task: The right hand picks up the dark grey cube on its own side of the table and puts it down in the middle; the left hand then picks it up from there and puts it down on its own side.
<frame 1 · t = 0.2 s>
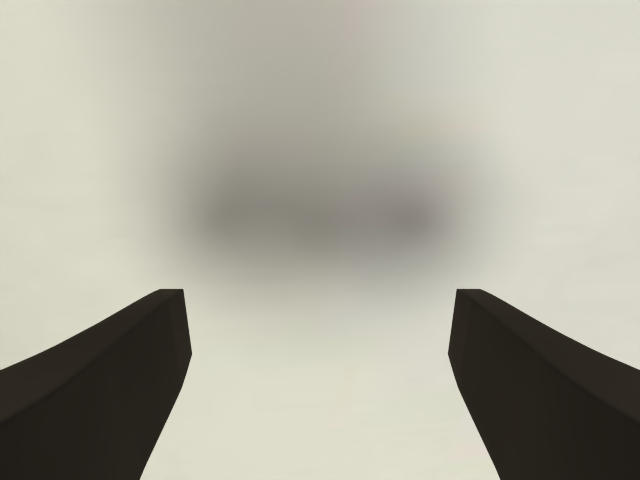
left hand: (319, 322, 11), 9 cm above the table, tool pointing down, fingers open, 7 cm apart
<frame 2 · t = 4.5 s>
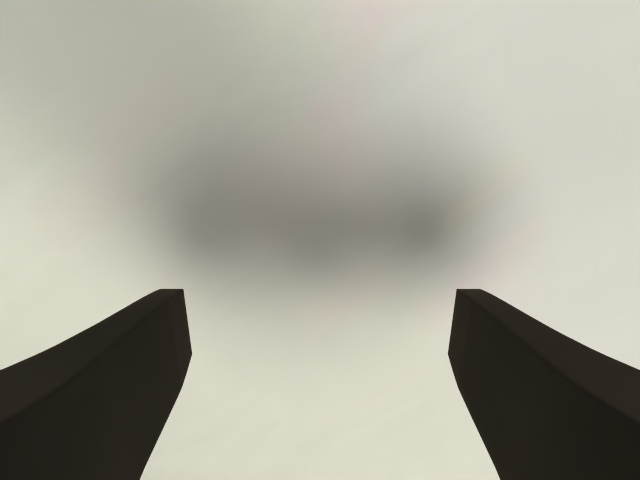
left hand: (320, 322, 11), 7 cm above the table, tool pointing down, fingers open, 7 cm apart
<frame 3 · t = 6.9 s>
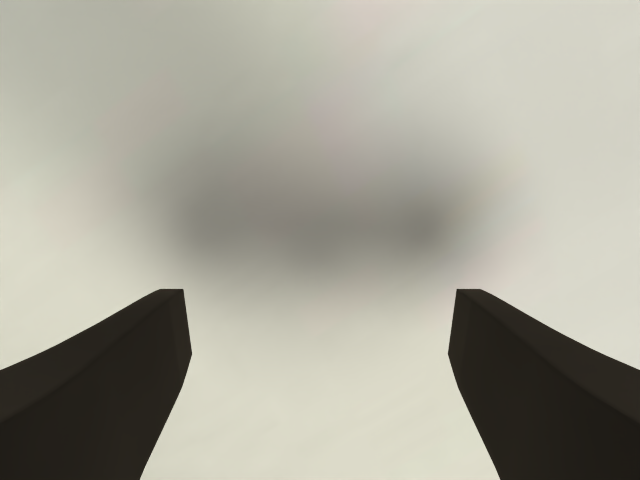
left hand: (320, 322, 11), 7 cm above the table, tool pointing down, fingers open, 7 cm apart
when the right hand's fingers open (3 cm above the table, at t = 9.5 s): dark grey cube stays where it is, on the table.
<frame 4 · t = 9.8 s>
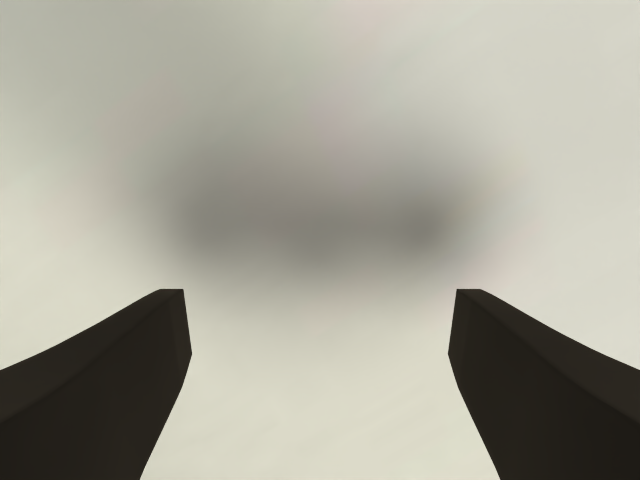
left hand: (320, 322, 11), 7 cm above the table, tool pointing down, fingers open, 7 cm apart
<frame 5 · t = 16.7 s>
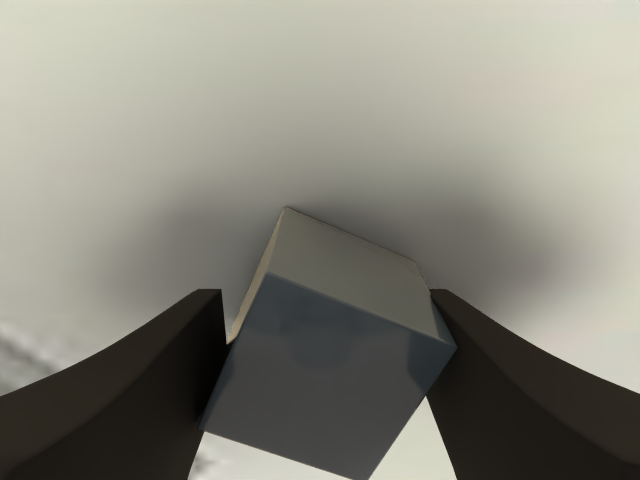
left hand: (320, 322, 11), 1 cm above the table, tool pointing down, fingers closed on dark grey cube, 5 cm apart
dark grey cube: (321, 293, 12), on the table, touching left hand
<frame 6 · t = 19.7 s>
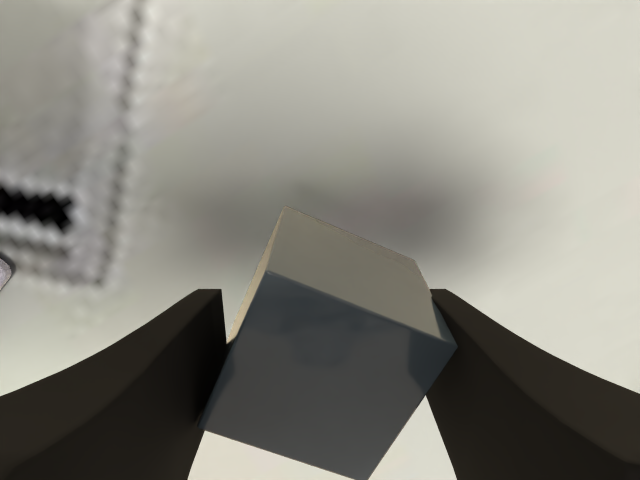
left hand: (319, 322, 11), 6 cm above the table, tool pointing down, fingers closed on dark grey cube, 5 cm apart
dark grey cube: (321, 292, 12), point 5 cm above the table, touching left hand
when the left hand's fingers open (2 cm above the table, at t = 22.9 s): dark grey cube stays where it is, on the table.
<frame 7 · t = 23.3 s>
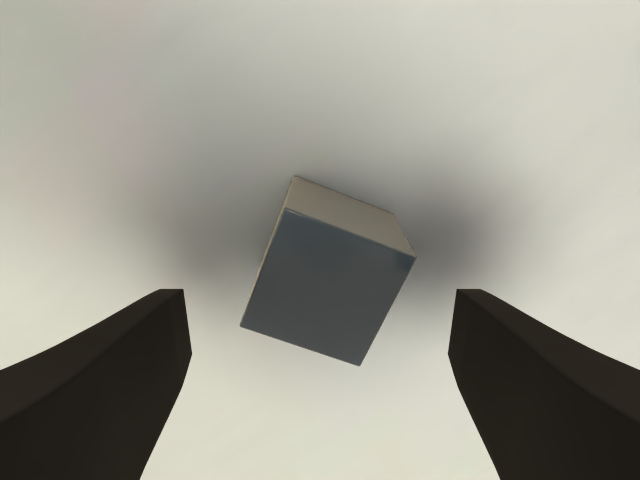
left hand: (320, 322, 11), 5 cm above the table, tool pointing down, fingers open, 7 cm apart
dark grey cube: (324, 242, 16), on the table
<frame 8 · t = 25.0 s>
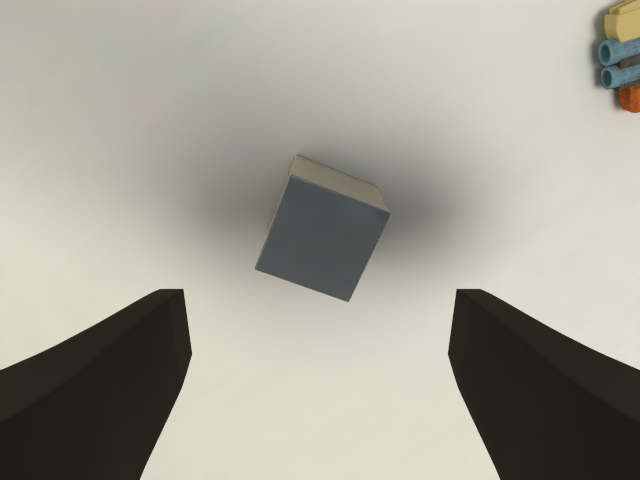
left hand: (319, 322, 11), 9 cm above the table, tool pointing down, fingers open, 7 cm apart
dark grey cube: (320, 210, 20), on the table
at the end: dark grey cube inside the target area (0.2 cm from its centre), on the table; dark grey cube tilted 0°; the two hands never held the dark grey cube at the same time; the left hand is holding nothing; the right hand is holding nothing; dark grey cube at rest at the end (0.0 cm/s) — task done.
